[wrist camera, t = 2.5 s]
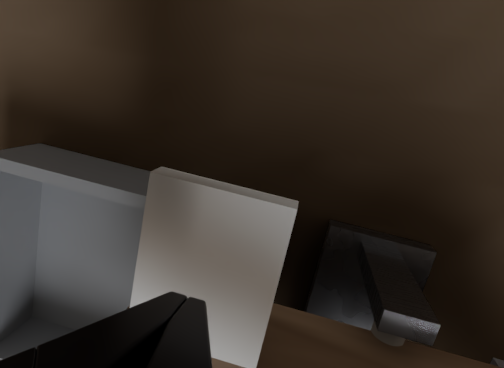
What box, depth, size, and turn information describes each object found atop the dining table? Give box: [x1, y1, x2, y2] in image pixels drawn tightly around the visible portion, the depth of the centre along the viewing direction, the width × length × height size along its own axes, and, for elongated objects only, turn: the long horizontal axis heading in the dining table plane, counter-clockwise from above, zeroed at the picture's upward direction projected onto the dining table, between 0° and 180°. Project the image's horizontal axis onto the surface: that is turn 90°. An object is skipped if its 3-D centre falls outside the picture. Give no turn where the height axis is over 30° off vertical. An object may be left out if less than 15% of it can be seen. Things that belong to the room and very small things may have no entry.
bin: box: [0, 143, 151, 360], centre depth 20 cm, size 11×14×4 cm
